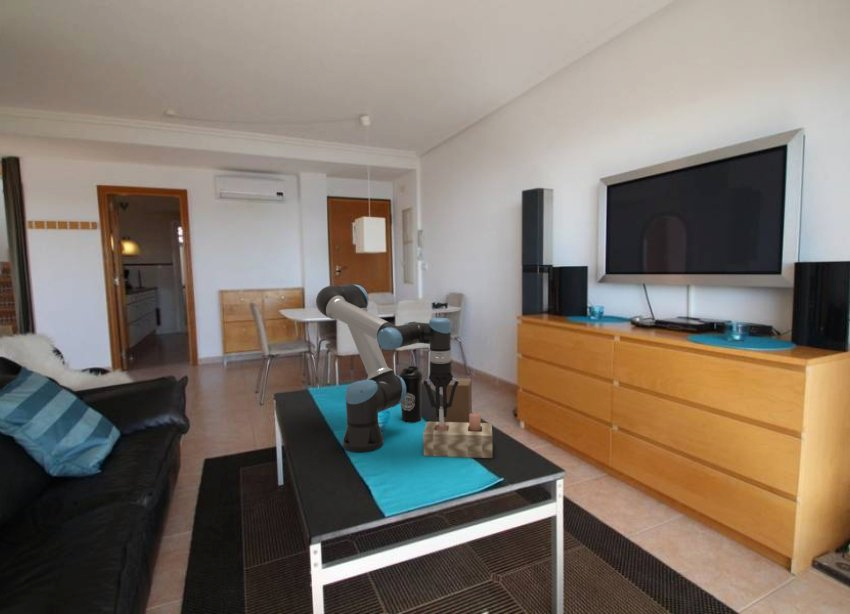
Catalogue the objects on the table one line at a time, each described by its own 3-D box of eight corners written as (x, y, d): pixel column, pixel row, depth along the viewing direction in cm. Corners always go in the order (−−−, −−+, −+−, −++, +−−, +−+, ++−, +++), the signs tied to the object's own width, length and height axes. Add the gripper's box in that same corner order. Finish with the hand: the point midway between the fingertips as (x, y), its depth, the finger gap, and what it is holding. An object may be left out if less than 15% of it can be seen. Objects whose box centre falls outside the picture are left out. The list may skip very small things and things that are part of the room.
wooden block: (469, 434, 173) (469, 385, 171) (444, 433, 175) (443, 384, 173) (472, 425, 182) (471, 378, 181) (448, 424, 184) (447, 377, 183)
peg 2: (469, 438, 156) (469, 416, 155) (469, 434, 160) (469, 412, 159) (480, 438, 155) (480, 416, 154) (480, 434, 159) (480, 413, 158)
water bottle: (396, 421, 188) (394, 369, 186) (405, 414, 198) (404, 364, 196) (417, 424, 184) (416, 371, 182) (426, 416, 194) (425, 365, 192)
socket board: (423, 455, 154) (423, 433, 154) (427, 442, 166) (427, 421, 165) (492, 458, 151) (492, 435, 150) (491, 444, 163) (491, 423, 162)
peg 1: (436, 449, 158) (435, 427, 157) (437, 444, 162) (436, 423, 161) (447, 449, 157) (446, 428, 156) (447, 445, 161) (447, 424, 160)
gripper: (421, 363, 153) (422, 428, 156) (458, 363, 152) (459, 429, 154) (423, 359, 161) (425, 421, 163) (459, 359, 159) (460, 422, 161)
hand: (441, 425), depth 159 cm, fingers closed
